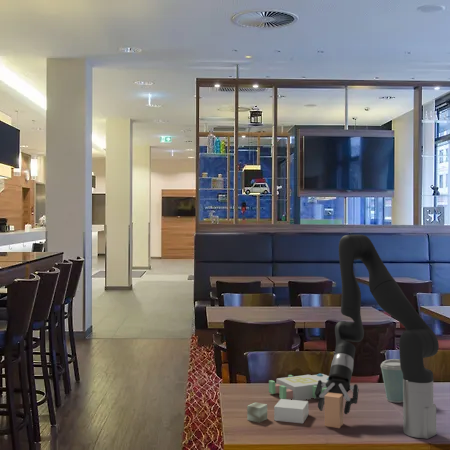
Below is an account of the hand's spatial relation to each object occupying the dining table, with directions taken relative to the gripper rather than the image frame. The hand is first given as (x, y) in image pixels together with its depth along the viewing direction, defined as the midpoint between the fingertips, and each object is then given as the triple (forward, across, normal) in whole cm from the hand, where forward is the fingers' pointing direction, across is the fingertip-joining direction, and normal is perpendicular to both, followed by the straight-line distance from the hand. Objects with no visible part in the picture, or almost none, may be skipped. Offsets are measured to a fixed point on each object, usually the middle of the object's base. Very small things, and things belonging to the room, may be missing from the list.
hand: (332, 411), depth 192 cm
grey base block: (+2, -15, +5) cm, 16 cm away
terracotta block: (+3, 0, +4) cm, 5 cm away
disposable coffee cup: (-24, +14, +31) cm, 41 cm away
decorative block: (-20, -21, +27) cm, 39 cm away
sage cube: (+7, -25, 0) cm, 26 cm away
